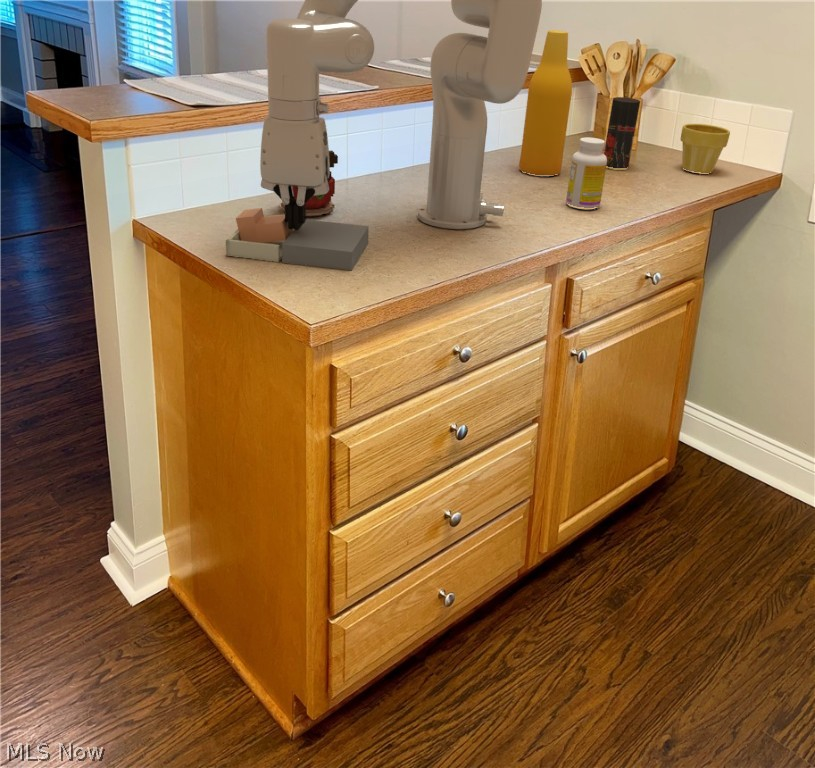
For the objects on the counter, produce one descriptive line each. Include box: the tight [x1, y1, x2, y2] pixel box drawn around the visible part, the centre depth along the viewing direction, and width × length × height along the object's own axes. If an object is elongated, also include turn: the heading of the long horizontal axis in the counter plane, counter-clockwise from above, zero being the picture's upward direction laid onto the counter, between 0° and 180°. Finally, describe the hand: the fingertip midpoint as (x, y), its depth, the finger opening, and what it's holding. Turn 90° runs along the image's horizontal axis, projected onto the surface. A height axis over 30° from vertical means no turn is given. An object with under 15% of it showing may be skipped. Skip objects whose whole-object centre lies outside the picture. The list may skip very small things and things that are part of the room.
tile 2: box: [255, 213, 293, 243], centre depth 139 cm, size 4×4×3 cm
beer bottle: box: [518, 29, 573, 175], centre depth 185 cm, size 9×9×29 cm
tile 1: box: [235, 207, 265, 243], centre depth 140 cm, size 4×4×3 cm
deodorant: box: [603, 96, 641, 168], centre depth 196 cm, size 6×6×15 cm
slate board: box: [281, 219, 370, 272], centre depth 139 cm, size 11×13×3 cm
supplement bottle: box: [565, 136, 607, 208], centre depth 168 cm, size 7×7×13 cm
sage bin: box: [225, 228, 295, 263], centre depth 140 cm, size 8×13×3 cm, turn 171°
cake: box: [280, 150, 339, 217], centre depth 154 cm, size 11×9×18 cm
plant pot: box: [680, 123, 731, 173], centre depth 199 cm, size 10×10×10 cm
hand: (295, 226), depth 139 cm, fingers closed
